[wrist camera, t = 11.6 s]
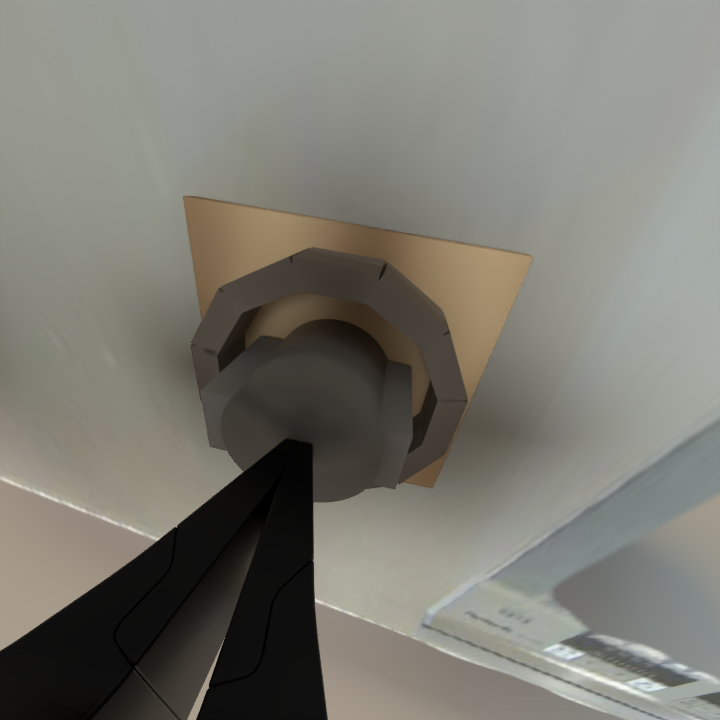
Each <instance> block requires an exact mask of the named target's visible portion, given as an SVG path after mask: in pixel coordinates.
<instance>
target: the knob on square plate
mask: <svg viewBox="0 0 720 720" xmlns="http://www.w3.org/2000/svg"><path fill="white" fill-rule="evenodd" d="M183 200H184V207H185V213H186V220H187V226H188V233H189V239H190V246H191V252H192V259H193V266H194V272H195V279H196V285H197V292H198V298H199V305H200V311H201V318H202V322H201V324H200V326H199V328H198V330H197V332H196V334H195V336H194V338H193V340H192V342H191V343H192V345H191V350H192V355H193V361H194V366H195V372H196V377H197V382H198V388H199V393H200V390H201V389H202V388H204V387H205V386H206V385H207V384H208V383H209V382H210V381H211V380H212V379H213V378H215V377H216V376H217V375H218V374H219V373H220V372H221V371H222V370H223V369H225V368H226V367H227V366H228V365H229V364H230V363H231V362H232V361H233V360H234V359H236V358H237V357H238V356H239V355H240V354H241V353H242V352H243V351H244V350H245V349H247V348H248V347H249V346H250V345H251V344H252V343H253V342H254V341H255V340H256V339H258V338H259V337H260V336H266V337H271V338H275V339H280V340H284V339H285V338H286V337H287V336H288V335H289V334H290V333H291V332H292V331H293V330H294V329H295V328H297V327H298V326H300V325H302V324H304V323H307V322H309V321H313V320H318V319H336V320H341V321H345V322H348V323H351V324H354V325H356V326H358V327H359V328H361V329H363V330H364V331H366V332H367V333H369V334H370V335H371V336H372V337H373V338H374V339H375V340H376V341H377V342H378V343H379V345H380V346H381V348H382V349H383V351H384V352H385V355H386V357H387V359H388V362H393V363H397V364H402V365H407V366H411V368H412V422H413V438H412V441H411V444H410V447H409V450H408V453H407V456H406V459H405V462H404V465H403V468H402V471H401V473H400V476H399V479H398V482H397V483H399V484H401V483H402V482H406V483H410V484H415V485H419V486H424V487H428V488H433V486H434V484H435V481H436V479H437V477H438V475H439V472H440V470H441V468H442V465H443V463H444V461H445V459H446V456H447V454H448V452H449V449H450V447H451V445H452V443H453V440H454V438H455V436H456V433H457V431H458V429H459V427H460V424H461V422H462V420H463V417H464V415H465V413H466V411H467V408H468V406H469V404H470V401H471V399H472V397H473V394H474V392H475V390H476V388H477V385H478V383H479V381H480V378H481V376H482V374H483V372H484V369H485V367H486V365H487V362H488V360H489V358H490V356H491V353H492V351H493V349H494V346H495V344H496V342H497V340H498V337H499V335H500V333H501V330H502V328H503V326H504V324H505V321H506V319H507V317H508V314H509V312H510V310H511V308H512V305H513V303H514V301H515V298H516V296H517V294H518V292H519V289H520V287H521V285H522V282H523V280H524V278H525V276H526V273H527V271H528V269H529V266H530V264H531V262H532V259H533V257H532V256H530V255H528V254H524V253H518V252H512V251H507V250H501V249H495V248H489V247H483V246H478V245H472V244H466V243H460V242H455V241H449V240H443V239H437V238H432V237H426V236H420V235H414V234H409V233H403V232H397V231H391V230H385V229H380V228H374V227H368V226H362V225H357V224H351V223H345V222H339V221H334V220H328V219H322V218H316V217H311V216H305V215H299V214H293V213H287V212H282V211H276V210H270V209H264V208H259V207H253V206H247V205H241V204H236V203H230V202H224V201H218V200H213V199H207V198H201V197H195V196H183ZM200 399H201V401H202V398H201V393H200ZM377 487H383V486H378V485H374V484H370V486H369V487H367V488H366V489H369V488H377Z"/></svg>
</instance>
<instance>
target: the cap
mask: <svg viewBox="0 0 720 720" xmlns="http://www.w3.org/2000/svg"><path fill="white" fill-rule="evenodd" d="M200 393H201V398H202V404H203V410H204V416H205V421H206V427H207V433H208V438H209V444H210V447H213V448H218V449H222V450H226V451H228V453H229V455H230V456H231V457H232V459H233V460H234V462H235V463H236V464H237V465H238V466H239V467H240V468H241V469H242V470H243V471H246V470H247V469H248V468H249V467H251V466H252V465H253V464H254V463H256V462H257V461H258V460H259V459H260V458H262V457H263V456H264V455H265V454H267V453H268V452H269V451H270V450H272V449H273V448H274V447H275V446H277V445H278V444H279V443H280V442H282V441H283V440H284V439H286V438H290V439H294V440H298V441H299V442H301V441H303V442H308V443H312V445H313V502H334V501H340V500H344V499H347V498H350V497H353V496H355V495H357V494H359V493H361V492H362V491H364V490H365V489H366V488H367V487H369V486H370V484H374V485H378V486H383V487H387V488H391V489H395V488H396V485H397V482H398V479H399V476H400V473H401V471H402V468H403V465H404V462H405V459H406V456H407V453H408V450H409V447H410V444H411V441H412V438H413V422H412V368H411V366H407V365H402V364H397V363H393V362H388V359H387V357H386V355H385V352H384V351H383V349H382V348H381V346H380V345H379V343H378V342H377V341H376V340H375V339H374V338H373V337H372V336H371V335H370V334H369V333H367V332H366V331H364V330H363V329H361V328H359V327H358V326H356V325H354V324H351V323H348V322H345V321H341V320H336V319H318V320H313V321H309V322H307V323H304V324H302V325H300V326H298V327H297V328H295V329H294V330H293V331H292V332H291V333H290V334H289V335H288V336H287V337H286V338H285V339H284V340H280V339H275V338H271V337H266V336H260V337H259V338H258V339H256V340H255V341H254V342H253V343H252V344H251V345H250V346H249V347H248V348H247V349H245V350H244V351H243V352H242V353H241V354H240V355H239V356H238V357H237V358H236V359H234V360H233V361H232V362H231V363H230V364H229V365H228V366H227V367H226V368H225V369H223V370H222V371H221V372H220V373H219V374H218V375H217V376H216V377H215V378H213V379H212V380H211V381H210V382H209V383H208V384H207V385H206V386H205V387H204V388H202V389H201V390H200Z"/></svg>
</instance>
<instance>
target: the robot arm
mask: <svg viewBox="0 0 720 720" xmlns="http://www.w3.org/2000/svg"><path fill="white" fill-rule="evenodd" d="M313 560H314V531H313V445H312V443H308V442H303V441H301V442H299V441H298V440H294V439H290V438H286V439H284V440H283V441H282V442H280V443H279V444H278V445H277V446H275V447H274V448H273V449H272V450H270V451H269V452H268V453H267V454H265V455H264V456H263V457H262V458H260V459H259V460H258V461H257V462H256V463H254V464H253V465H252V466H251V467H249V468H248V469H247V470H246V471H244V472H243V473H242V474H241V475H239V476H238V477H237V478H236V479H234V480H233V481H232V482H231V483H229V484H228V485H227V486H226V487H224V488H223V489H222V490H221V491H219V492H218V493H217V494H216V495H214V496H213V497H212V498H211V499H209V500H208V501H207V502H206V503H204V504H203V505H202V506H201V507H199V508H198V509H197V510H196V511H194V512H193V513H192V514H191V515H189V516H188V517H187V518H186V519H184V520H183V521H182V522H181V523H179V524H178V526H177V528H176V527H175V528H173V529H172V530H171V531H169V532H168V533H167V534H166V535H164V536H163V537H162V538H161V539H159V540H158V541H157V542H155V543H154V544H153V545H152V546H150V547H149V548H148V549H147V550H145V551H144V552H142V553H141V554H140V555H139V556H137V557H136V558H135V559H133V560H132V561H131V562H129V563H128V564H126V565H125V566H124V567H122V568H121V569H119V570H118V571H117V572H115V573H114V574H112V575H111V576H110V577H108V578H107V579H105V580H104V581H102V582H101V583H100V584H98V585H97V586H95V587H94V588H93V589H91V590H89V591H88V592H87V593H85V594H84V595H82V596H81V597H79V598H78V599H76V600H75V601H73V602H72V603H71V604H69V605H68V606H66V607H65V608H63V609H62V610H60V611H59V612H57V613H56V614H55V615H53V616H52V617H50V618H49V619H47V620H46V621H44V622H43V623H42V624H40V625H39V626H37V627H36V628H34V629H33V630H31V631H30V632H29V633H27V634H26V635H24V636H23V637H21V638H20V639H18V640H17V641H15V642H14V643H12V644H11V645H9V646H7V647H6V648H4V649H2V650H1V651H0V720H187V718H188V716H189V714H190V712H191V710H192V708H193V705H194V703H195V701H196V699H197V697H198V694H199V692H200V690H201V688H202V686H203V684H204V681H205V679H206V677H207V675H208V673H209V671H210V668H211V666H212V664H213V662H214V660H215V657H216V655H217V653H218V651H219V649H220V647H221V644H222V642H223V640H224V642H223V645H222V648H221V651H220V654H219V657H218V660H217V662H216V666H215V668H214V671H213V674H212V677H211V680H210V683H209V689H208V690H207V692H206V695H205V697H204V700H203V703H202V706H201V708H200V711H199V714H198V716H197V719H196V720H328V717H327V709H326V701H325V693H324V684H323V676H322V668H321V659H320V651H319V644H318V634H317V624H316V612H315V593H314V562H313ZM224 638H225V639H224Z"/></svg>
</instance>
